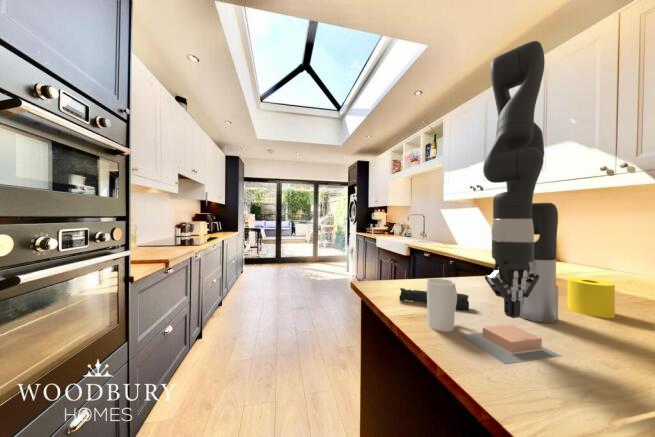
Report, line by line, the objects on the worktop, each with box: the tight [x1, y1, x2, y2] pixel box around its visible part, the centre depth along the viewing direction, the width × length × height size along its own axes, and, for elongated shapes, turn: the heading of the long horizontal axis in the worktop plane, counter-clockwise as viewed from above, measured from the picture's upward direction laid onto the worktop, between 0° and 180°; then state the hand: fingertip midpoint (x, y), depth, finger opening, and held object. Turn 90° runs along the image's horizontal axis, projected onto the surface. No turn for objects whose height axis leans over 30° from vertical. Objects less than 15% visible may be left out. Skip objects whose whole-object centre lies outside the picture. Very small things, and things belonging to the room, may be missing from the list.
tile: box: [482, 324, 543, 354], centre depth 55 cm, size 2×7×8 cm
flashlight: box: [399, 287, 470, 311], centre depth 81 cm, size 5×21×5 cm, turn 66°
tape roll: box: [567, 277, 616, 319], centre depth 76 cm, size 10×10×9 cm
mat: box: [458, 332, 562, 365], centre depth 54 cm, size 14×12×1 cm
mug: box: [426, 277, 457, 333], centre depth 64 cm, size 10×7×12 cm, turn 119°
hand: (512, 316), depth 55 cm, fingers closed
